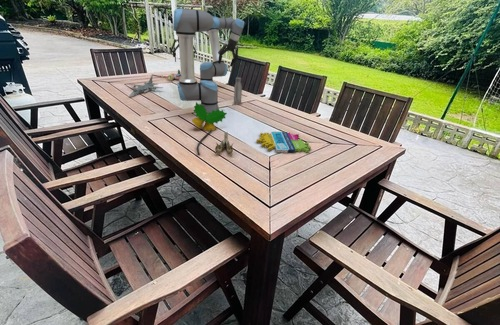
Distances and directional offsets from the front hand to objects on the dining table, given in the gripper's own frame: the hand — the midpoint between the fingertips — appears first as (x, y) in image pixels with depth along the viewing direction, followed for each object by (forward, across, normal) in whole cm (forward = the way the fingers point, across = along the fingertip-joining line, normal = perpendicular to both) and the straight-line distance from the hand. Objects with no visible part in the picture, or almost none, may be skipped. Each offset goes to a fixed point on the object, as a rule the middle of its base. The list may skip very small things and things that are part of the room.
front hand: (184, 61), depth 211 cm
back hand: (+2, -34, -2) cm, 34 cm away
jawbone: (+28, -13, +108) cm, 112 cm away
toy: (+28, +7, -70) cm, 76 cm away
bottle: (+28, -40, +25) cm, 55 cm away
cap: (+8, -40, +25) cm, 47 cm away
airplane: (+28, +35, -16) cm, 47 cm away
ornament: (+28, -10, +76) cm, 81 cm away
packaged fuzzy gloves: (+28, -48, +102) cm, 117 cm away
